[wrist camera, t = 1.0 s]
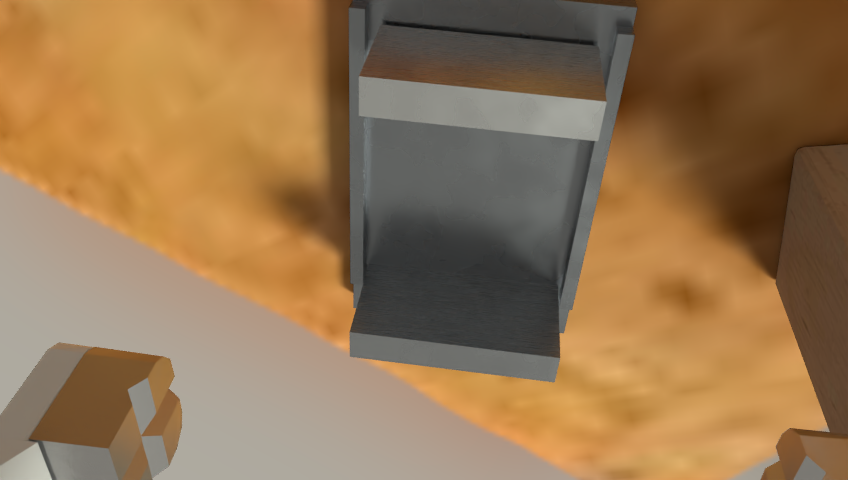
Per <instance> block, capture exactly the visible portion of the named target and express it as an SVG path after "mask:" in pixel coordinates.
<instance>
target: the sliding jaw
mask: <svg viewBox="0 0 848 480" xmlns="http://www.w3.org/2000/svg"><path fill="white" fill-rule="evenodd" d="M606 103H607V100H606V93H605V86H604V79H603V72H602V65H601V58H600V51H599V46H594V45H583V44H573V43H563V42H553V41H543V40H533V39H522V38H512V37H502V36H492V35H482V34H472V33H461V32H451V31H441V30H431V29H421V28H411V27H400V26H390V25H380V28H379V30H378V32H377V35H376V37H375V39H374V42H373V44H372V46H371V49H370V51H369V54H368V56H367V58H366V61H365V63H364V65H363V68H362V70H361V72H360V75H359V116H364V117H373V118H383V119H392V120H402V121H411V122H420V123H430V124H439V125H449V126H458V127H468V128H477V129H487V130H496V131H505V132H515V133H524V134H534V135H543V136H553V137H562V138H572V139H581V140H590V141H598V140H599V135H600V130H601V126H602V121H603V117H604V112H605V108H606Z"/></svg>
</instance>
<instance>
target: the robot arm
mask: <svg viewBox="0 0 848 480" xmlns="http://www.w3.org/2000/svg"><path fill="white" fill-rule="evenodd" d="M173 378H174V372H173V368H172V364H171V361H170V359H169V358H166V357H162V356H155V355H148V354H141V353H134V352H127V351H120V350H113V349H106V348H99V347H88V346H80V345H74V344H66V343H57V344H56V345H54V346H53V347H51V348H49V349H48V350H47V351H46V353H45V354H44V355H43V357H42V358H41V360H40V361H39V362H38V364H37V365H36V366H35V368H34V369H33V371H32V372H31V373H30V375H29V376H28V377H27V379H26V380H25V382H24V383H23V385H22V386H21V387H20V389H19V390H18V391H17V393H16V394H15V396H14V397H13V398H12V400H11V401H10V402H9V404H8V405H7V407H6V408H5V410H4V411H3V412H2V414H1V415H0V480H152V478H153V477H155V476H156V475H157V474H159V473H160V472H161V471H163V470H164V469H166V468H167V467H169V465H170V463H171V460H172V458H173V456H174V454H175V451H176V449H177V446H178V441H179V437H180V433H181V428H182V409H181V404H180V399H179V398H178V397H177V396H176V395H175V394H174V393H173V392H172V391H171V390H170V389H169V387H170V385H171V382H172V381H173ZM776 449H777V452H778V456H779V459H780V461H778V462H776V463H775V464H773V465H771V466H769V467H767V468H766V469H765V470H764V473H763V475H762V478H761V480H848V434H842V433H832V432H823V431H813V430H803V429H794V428H789V429H788V430H787V431H785V432H784V433H783V434H782V435H781V437H780V439H779V441H778V443H777V445H776Z"/></svg>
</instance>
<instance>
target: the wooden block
mask: <svg viewBox="0 0 848 480" xmlns="http://www.w3.org/2000/svg"><path fill="white" fill-rule="evenodd" d="M776 286H777V289H778V291H779V294H780V297H781V300H782V302H783V305H784V308H785V310H786V313H787V316H788V319H789V321H790V324H791V327H792V330H793V332H794V335H795V338H796V340H797V343H798V346H799V349H800V351H801V354H802V357H803V360H804V362H805V365H806V368H807V370H808V373H809V376H810V379H811V381H812V384H813V387H814V390H815V392H816V395H817V398H818V401H819V403H820V406H821V409H822V411H823V414H824V417H825V420H826V422H827V425H828V428H829V431H830V432H832V433H842V434H848V144H843V145H828V146H813V147H802V148H800V149H798V150H797V152H796V154H795V157H794V164H793V171H792V177H791V184H790V191H789V197H788V204H787V211H786V217H785V224H784V230H783V237H782V244H781V250H780V257H779V264H778V270H777V277H776Z"/></svg>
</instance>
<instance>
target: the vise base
mask: <svg viewBox="0 0 848 480" xmlns="http://www.w3.org/2000/svg"><path fill="white" fill-rule="evenodd" d="M636 12H637V4H636V0H353V1H352V3H351V4H350V6H349V122H350V283H351V284H354V308H356V312H355V315H354V319H353V322H352V326H351V329H350V357H357V358H365V359H373V360H381V361H389V362H397V363H405V364H413V365H421V366H429V367H437V368H445V369H453V370H461V371H468V372H476V373H484V374H492V375H500V376H508V377H516V378H524V379H532V380H540V381H548V382H555V378H556V374H557V369H558V365H559V360H560V337H559V333H564V330H565V326H566V321H567V317H568V313H569V310H572V308H573V303H574V299H575V295H576V290H577V286H578V282H579V277H580V273H581V268H582V264H583V260H584V255H585V251H586V247H587V242H588V238H589V234H590V229H591V225H592V220H593V216H594V212H595V207H596V203H597V199H598V194H599V190H600V186H601V181H602V177H603V172H604V168H605V164H606V159H607V155H608V151H609V146H610V142H611V138H612V133H613V129H614V124H615V120H616V116H617V111H618V107H619V103H620V98H621V94H622V90H623V85H624V81H625V76H626V72H627V68H628V63H629V59H630V55H631V50H632V46H633V42H634V37H635V34H634V30H633V25H634V21H635V16H636ZM380 25H390V26H400V27H411V28H421V29H431V30H441V31H451V32H461V33H472V34H482V35H492V36H502V37H512V38H522V39H533V40H543V41H553V42H563V43H573V44H583V45H594V46H599V51H600V58H601V65H602V72H603V79H604V86H605V93H606V100H607V103H606V108H605V112H604V117H603V121H602V126H601V130H600V135H599V140H598V141H590V140H581V139H572V138H562V137H553V136H543V135H534V134H524V133H515V132H505V131H496V130H487V129H477V128H468V127H458V126H449V125H439V124H430V123H420V122H411V121H402V120H392V119H383V118H373V117H364V116H359V75H360V72H361V70H362V68H363V65H364V63H365V61H366V58H367V56H368V54H369V51H370V49H371V46H372V44H373V42H374V39H375V37H376V35H377V32H378V30H379V28H380Z"/></svg>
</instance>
